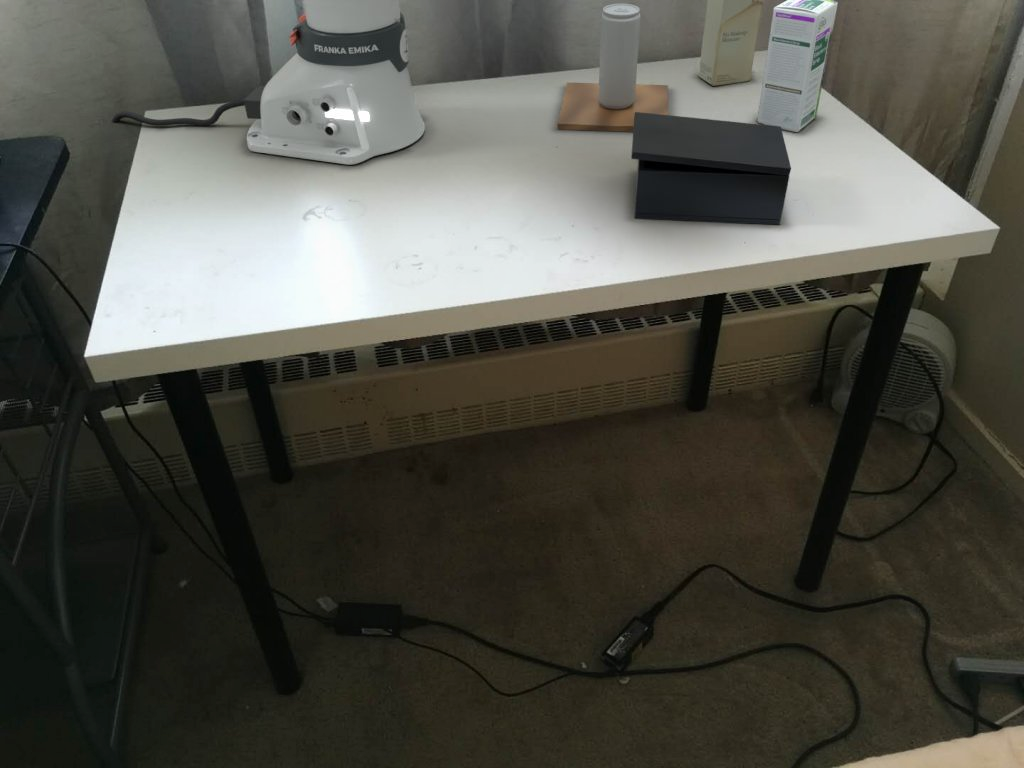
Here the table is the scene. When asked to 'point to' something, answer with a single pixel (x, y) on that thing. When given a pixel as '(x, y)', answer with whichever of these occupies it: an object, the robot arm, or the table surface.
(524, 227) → the table surface
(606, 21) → the beverage can
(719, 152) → the lid
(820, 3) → the syrup box
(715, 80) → the cosmetic box
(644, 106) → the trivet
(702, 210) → the black open box
